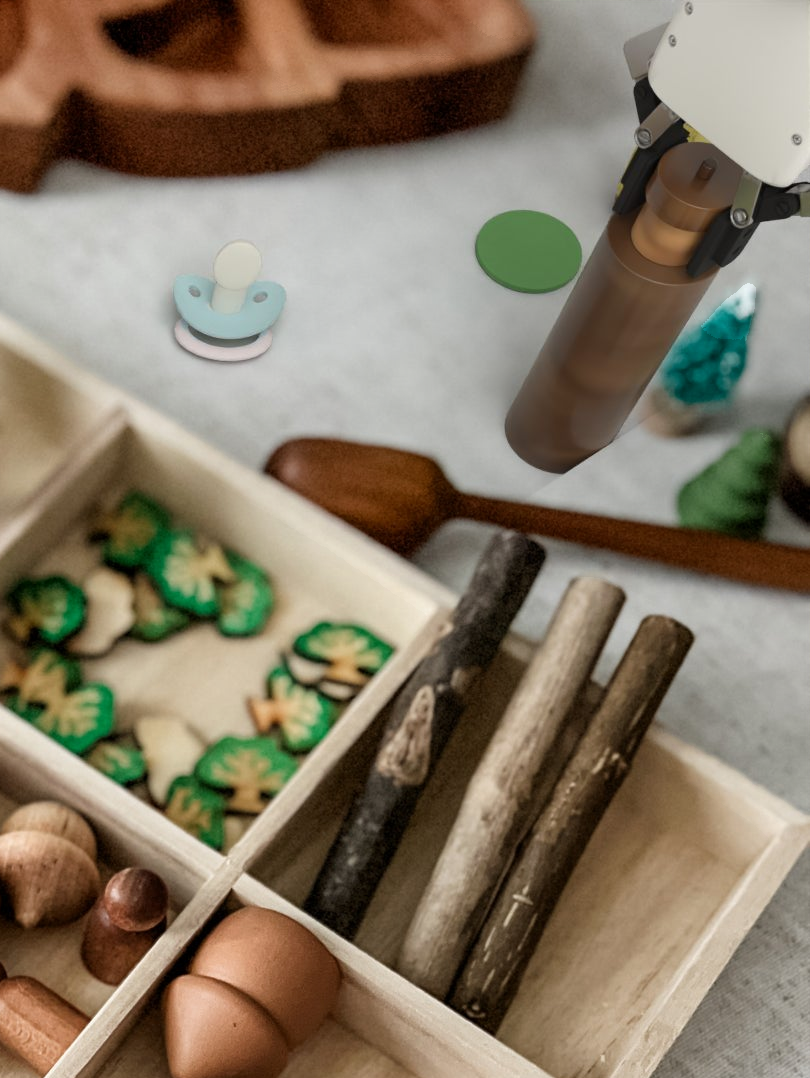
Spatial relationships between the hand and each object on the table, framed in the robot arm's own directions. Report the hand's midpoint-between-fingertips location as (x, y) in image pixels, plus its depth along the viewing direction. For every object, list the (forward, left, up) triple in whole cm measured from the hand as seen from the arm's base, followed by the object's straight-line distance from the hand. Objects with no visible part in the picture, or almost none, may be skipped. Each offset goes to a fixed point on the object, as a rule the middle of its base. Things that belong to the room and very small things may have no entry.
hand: (672, 230), depth 93 cm
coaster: (+12, -9, -17) cm, 22 cm away
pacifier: (+19, +12, -17) cm, 28 cm away
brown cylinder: (0, 0, -17) cm, 17 cm away
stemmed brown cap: (0, 0, -1) cm, 1 cm away
